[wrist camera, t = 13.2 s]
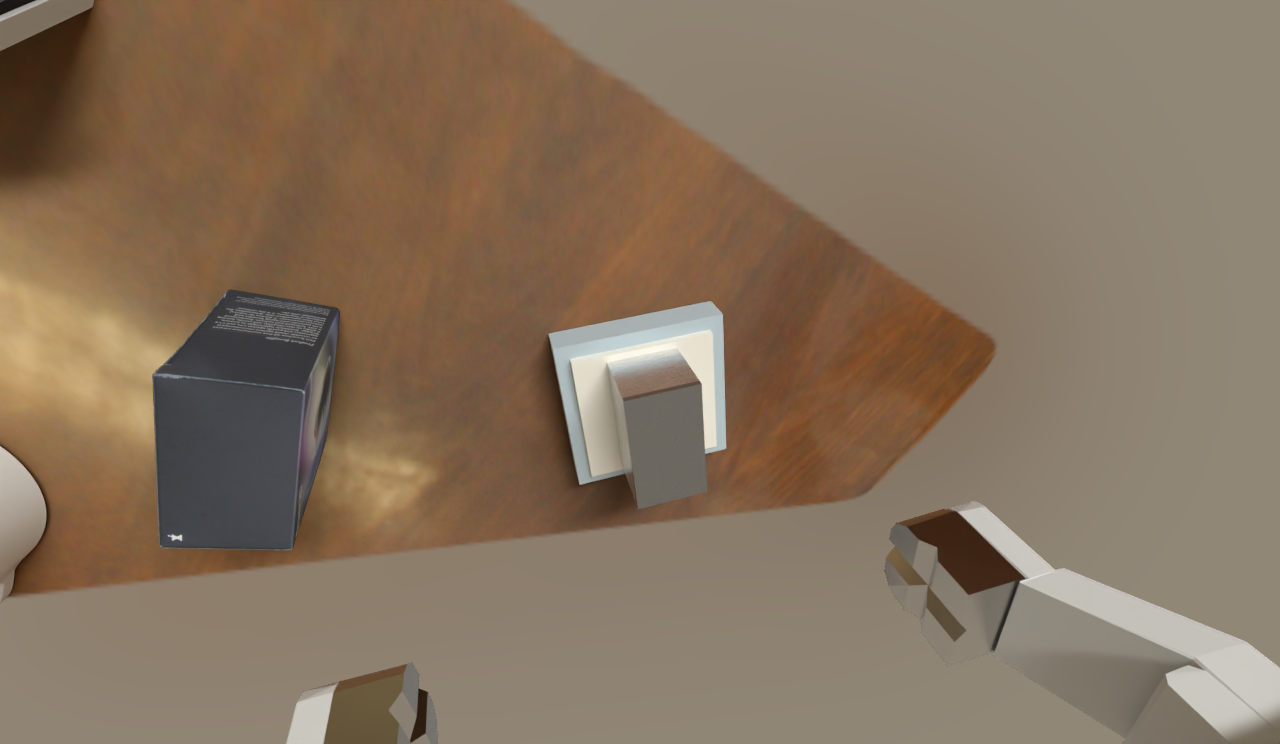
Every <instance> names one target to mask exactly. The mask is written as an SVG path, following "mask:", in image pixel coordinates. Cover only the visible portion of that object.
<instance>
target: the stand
mask: <svg viewBox="0 0 1280 744" xmlns="http://www.w3.org/2000/svg"><path fill="white" fill-rule="evenodd" d="M548 335H549V340H550V345H551V350H552V355H553V360H554V365H555V370H556V375H557V380H558V385H559V390H560V395H561V400H562V405H563V410H564V415H565V420H566V425H567V430H568V435H569V440H570V445H571V450H572V455H573V460H574V465H575V469H576V473H577V477H578V481H579V484H580V485H581V484H585V483H589V482H593V481H597V480H602V479H606V478H610V477H614V476H618V475H622V474H625V472H624V469H623V467H622V463H621V456H620V449H619V443H618V436H617V429H616V422H615V415H614V408H613V401H612V395H611V388H610V381H609V374H608V367H607V362H612V361H617V360H621V359H626V358H631V357H635V356H640V355H645V354H649V353H654V352H659V351H663V350H668V349H673V348H678V350H679V351H680V352H681V354H682V355H683V357H684V358H685V360H686V361H687V363H688V364H689V366H690V367H691V369H692V370H693V372H694V373H695V375H696V376H697V378H698V379H699V381H700V382H701V384H702V400H703V421H704V441H705V454H707V453H711V452H715V451H719V450H723V449H726V424H725V383H724V343H723V314H722V313H721V312H720V311H719V309H718V308H717V307H716V306H715V305H714V304H713V303H712V302H711V301H708V302H703V303H698V304H693V305H688V306H683V307H678V308H673V309H668V310H664V311H659V312H654V313H649V314H644V315H639V316H634V317H629V318H624V319H619V320H614V321H609V322H604V323H599V324H594V325H589V326H584V327H579V328H574V329H569V330H564V331H559V332H555V333H550V334H548Z"/></svg>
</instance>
